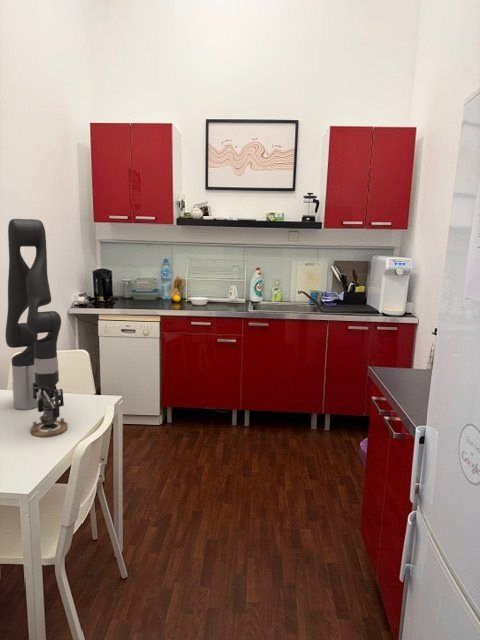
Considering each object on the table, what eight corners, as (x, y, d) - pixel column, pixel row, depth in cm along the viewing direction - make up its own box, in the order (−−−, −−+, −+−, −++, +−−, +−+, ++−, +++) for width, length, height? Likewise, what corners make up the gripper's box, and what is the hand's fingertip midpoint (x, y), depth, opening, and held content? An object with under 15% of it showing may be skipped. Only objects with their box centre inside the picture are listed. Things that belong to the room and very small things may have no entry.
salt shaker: (51, 431, 154) (50, 397, 152) (36, 429, 155) (34, 395, 153) (61, 424, 160) (60, 391, 158) (46, 422, 161) (45, 390, 159)
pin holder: (23, 431, 156) (23, 424, 156) (54, 420, 166) (54, 413, 165) (43, 440, 149) (43, 433, 149) (75, 428, 159) (74, 422, 159)
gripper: (24, 368, 155) (26, 413, 157) (48, 376, 147) (51, 423, 150) (44, 363, 161) (46, 406, 164) (69, 371, 153) (70, 416, 156)
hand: (48, 414), depth 157 cm, fingers open, 8 cm apart
